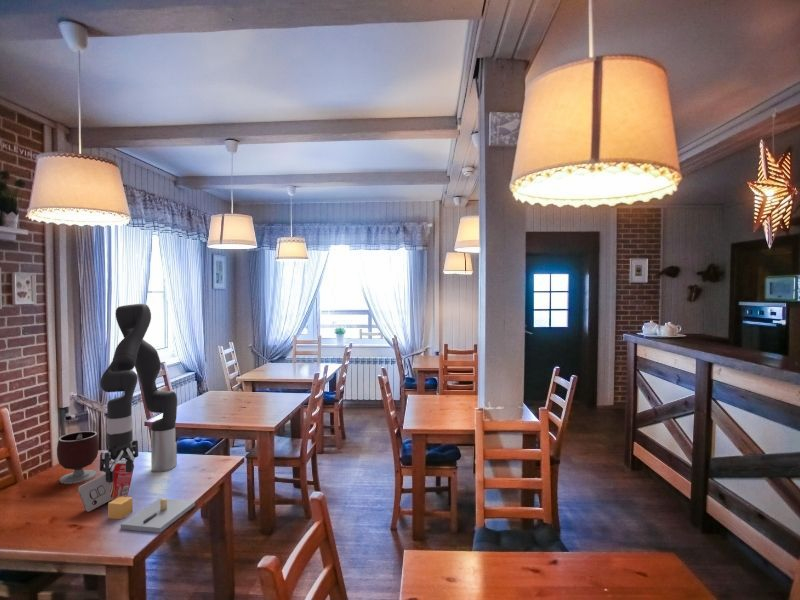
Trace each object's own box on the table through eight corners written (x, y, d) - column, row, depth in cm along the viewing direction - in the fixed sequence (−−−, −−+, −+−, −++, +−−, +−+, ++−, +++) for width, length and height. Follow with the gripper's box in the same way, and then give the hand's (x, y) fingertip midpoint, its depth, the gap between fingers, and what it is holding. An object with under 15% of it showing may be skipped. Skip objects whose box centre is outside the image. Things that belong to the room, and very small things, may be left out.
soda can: (131, 497, 167) (139, 460, 169) (118, 502, 160) (126, 464, 162) (114, 494, 167) (122, 458, 170) (99, 499, 160) (108, 461, 162)
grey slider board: (159, 502, 162) (159, 489, 161) (194, 505, 159) (194, 491, 159) (120, 528, 144) (120, 513, 144) (160, 532, 142) (160, 516, 141)
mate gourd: (55, 476, 184) (55, 428, 184) (96, 468, 193) (95, 421, 193) (59, 489, 172) (58, 437, 172) (102, 479, 181) (101, 430, 181)
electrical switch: (88, 513, 154) (80, 487, 153) (81, 511, 156) (73, 486, 156) (116, 497, 162) (109, 473, 161) (109, 496, 164) (102, 472, 164)
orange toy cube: (119, 510, 156) (119, 496, 156) (132, 511, 155) (132, 497, 155) (108, 517, 151) (108, 503, 151) (121, 519, 150) (121, 504, 150)
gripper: (125, 422, 160) (126, 468, 160) (92, 435, 146) (92, 484, 146) (144, 424, 159) (144, 469, 159) (112, 436, 145) (113, 486, 145)
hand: (119, 476), depth 152 cm, fingers open, 8 cm apart
